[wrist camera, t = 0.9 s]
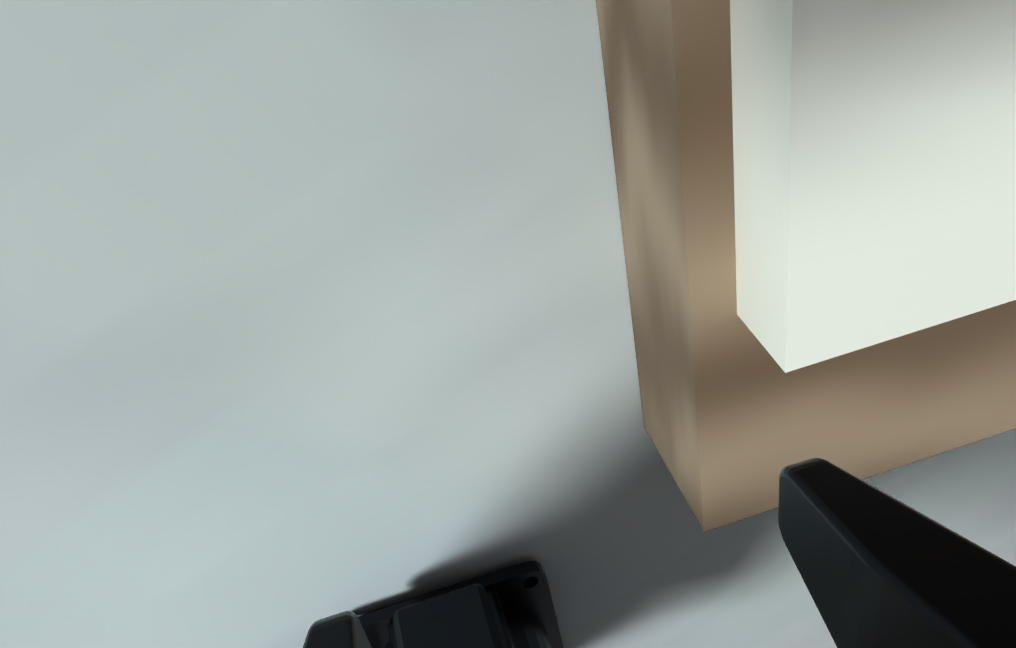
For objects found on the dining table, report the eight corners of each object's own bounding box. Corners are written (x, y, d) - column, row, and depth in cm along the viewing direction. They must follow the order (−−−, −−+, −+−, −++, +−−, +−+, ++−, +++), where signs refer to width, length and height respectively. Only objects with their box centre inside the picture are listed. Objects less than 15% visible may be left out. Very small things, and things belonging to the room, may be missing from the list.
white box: (999, 233, 19) (1070, 282, 17) (737, 314, 18) (785, 373, 17) (1093, -266, 14) (1208, -261, 12) (726, -175, 13) (795, -156, 11)
